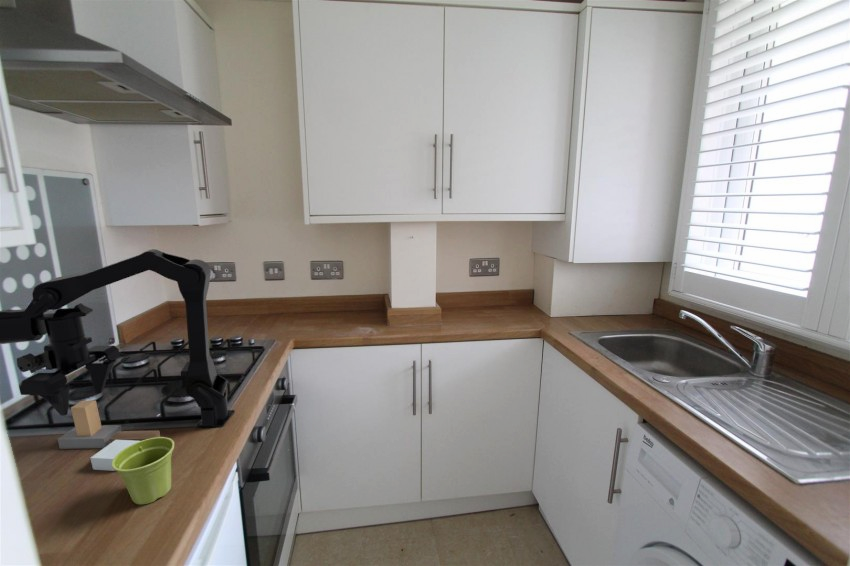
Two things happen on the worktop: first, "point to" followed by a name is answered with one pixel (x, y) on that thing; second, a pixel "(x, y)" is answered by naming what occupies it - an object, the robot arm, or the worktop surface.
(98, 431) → the tan block grey base
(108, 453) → the tile
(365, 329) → the worktop surface
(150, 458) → the plant pot
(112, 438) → the stop bar
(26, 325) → the robot arm
